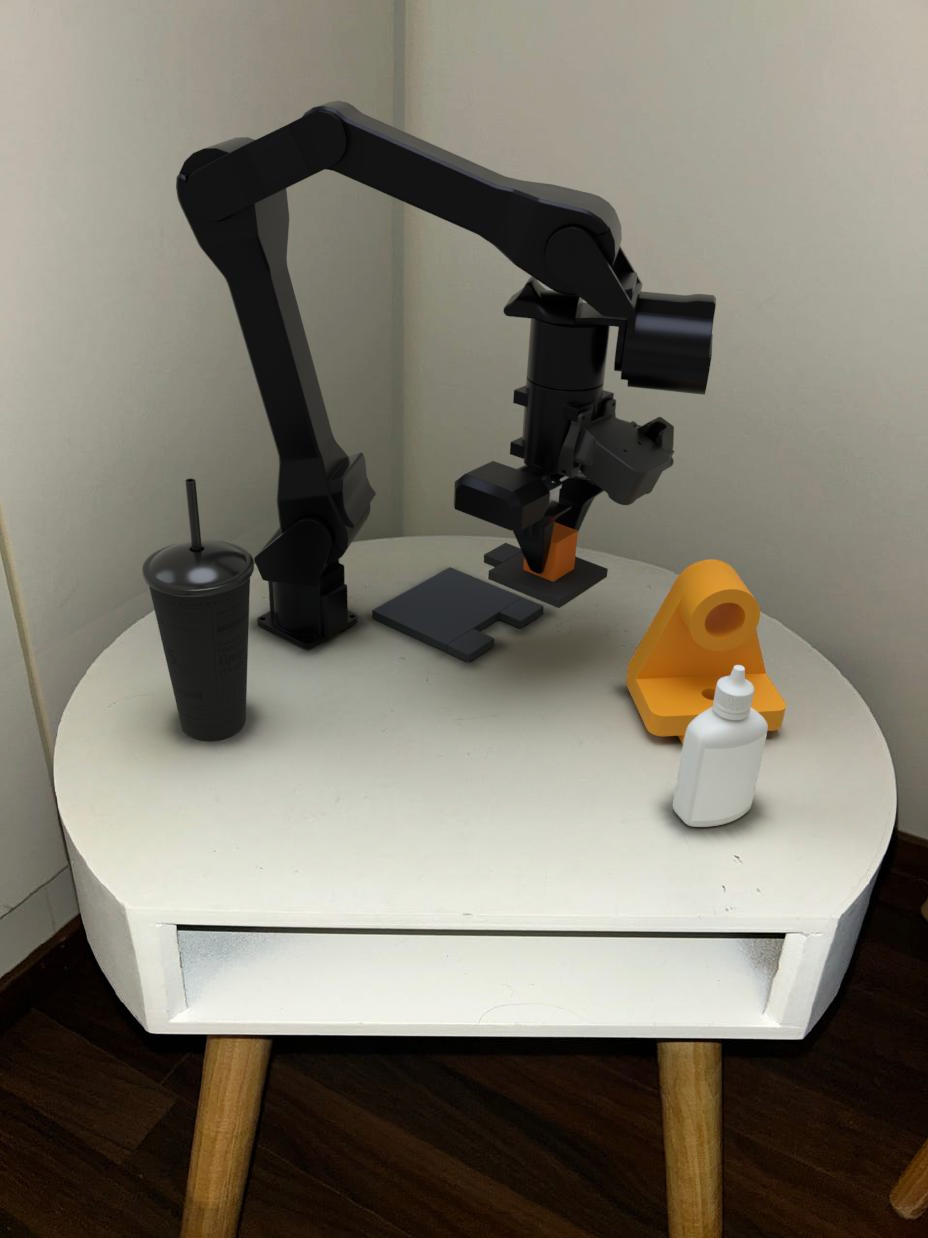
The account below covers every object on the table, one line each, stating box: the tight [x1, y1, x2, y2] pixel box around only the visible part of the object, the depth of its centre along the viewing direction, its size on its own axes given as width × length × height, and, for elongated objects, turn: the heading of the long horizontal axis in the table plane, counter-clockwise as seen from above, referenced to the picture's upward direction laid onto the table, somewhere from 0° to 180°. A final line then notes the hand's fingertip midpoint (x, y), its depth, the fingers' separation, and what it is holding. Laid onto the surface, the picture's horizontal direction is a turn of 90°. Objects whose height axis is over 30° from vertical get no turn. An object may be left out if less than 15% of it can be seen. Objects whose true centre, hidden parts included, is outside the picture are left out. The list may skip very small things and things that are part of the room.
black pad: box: [483, 522, 609, 609], centre depth 89 cm, size 9×7×4 cm
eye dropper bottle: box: [672, 665, 768, 828], centre depth 75 cm, size 4×6×12 cm
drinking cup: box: [141, 477, 255, 742], centre depth 79 cm, size 8×8×20 cm
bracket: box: [625, 558, 787, 745], centre depth 85 cm, size 11×7×12 cm, turn 98°
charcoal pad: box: [371, 566, 545, 663], centre depth 99 cm, size 11×11×1 cm
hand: (548, 565), depth 89 cm, fingers closed on black pad, 3 cm apart
